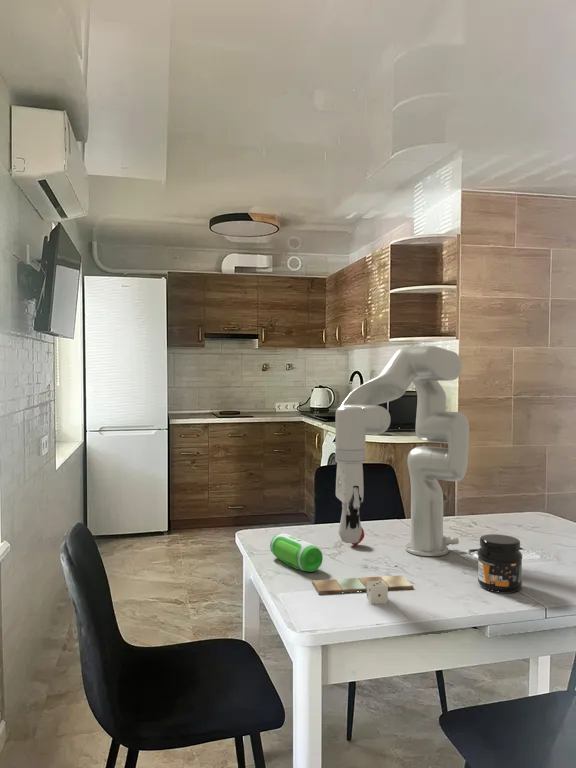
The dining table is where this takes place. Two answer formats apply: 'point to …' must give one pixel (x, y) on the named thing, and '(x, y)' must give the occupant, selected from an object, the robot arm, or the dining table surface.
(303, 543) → the speaker
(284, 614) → the dining table surface
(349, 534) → the salt shaker
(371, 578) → the track
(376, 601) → the die
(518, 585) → the supplement container
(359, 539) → the onion
